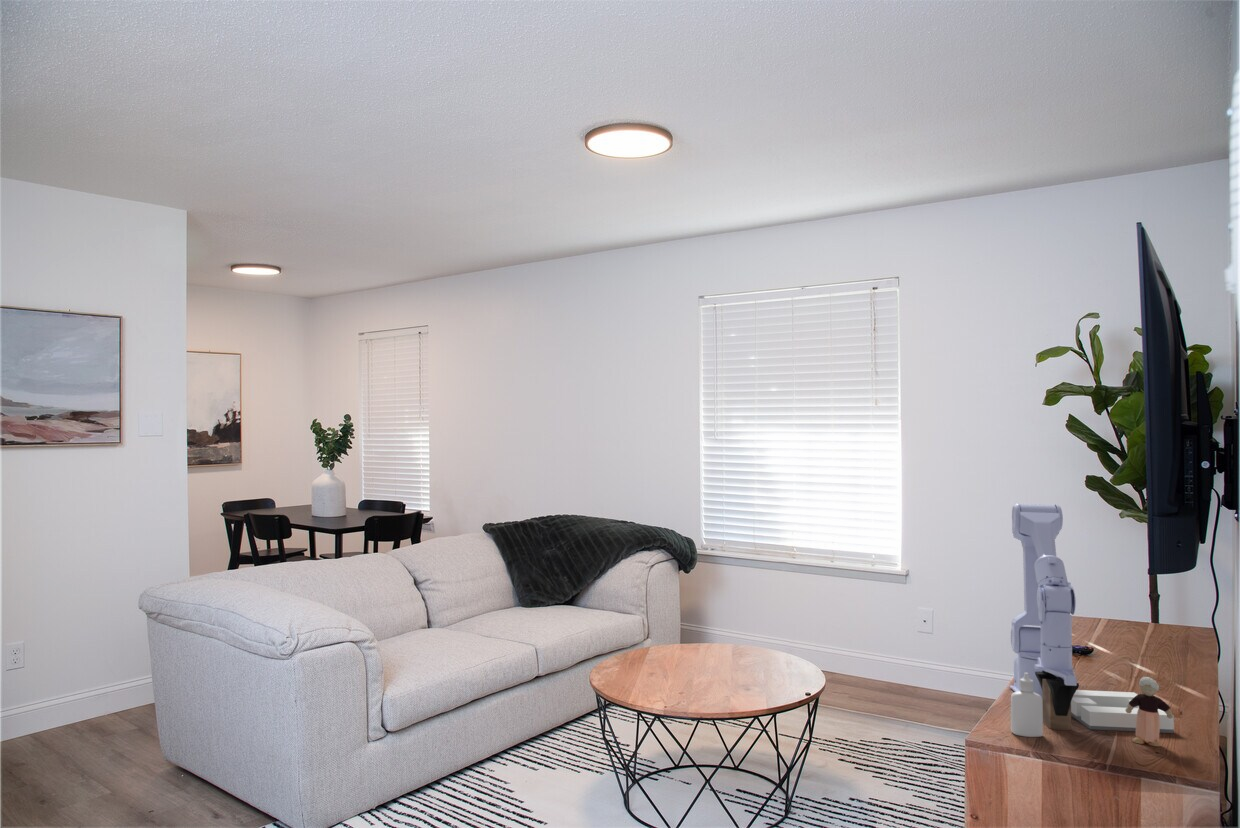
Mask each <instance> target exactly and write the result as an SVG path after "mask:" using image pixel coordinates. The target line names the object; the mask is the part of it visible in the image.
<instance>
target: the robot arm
mask: <svg viewBox="0 0 1240 828" xmlns="http://www.w3.org/2000/svg"><path fill="white" fill-rule="evenodd" d="M1011 509H1012V510H1011V531H1012V536H1013V539H1017V540H1018V541H1020V542H1021V547H1022V558H1023V560H1022V561H1023V563H1022V565H1023V566H1022V567H1023V598H1024V601H1023V604H1024V609H1023V610H1024V611H1023V612H1021V613H1019V614H1018V615H1016V616H1015V617H1013V619H1012V621H1011V630H1010V645H1011V650H1012V651H1013V652H1014V654H1017V655H1016V656H1015V657H1014V661H1013V685H1012V684H1011V685H1009V688H1010V689H1011V690H1012V691H1014V692H1016V691H1020V679H1022V678H1023V677H1024V673H1028V674H1029V678H1030V679H1031V680H1033V692H1035V693H1037V694H1039V695H1040V696H1041V697H1042V679H1046V681H1047V683H1048V685H1049V688H1050V690H1051V694H1052V698H1053V706H1054V711H1055V715H1057V716H1067V715H1068V711H1069V708H1070V704H1071V700H1072V698H1073V695H1074V693H1075V692H1076V690H1079V687H1080V685H1079V682H1078V680H1077V678H1078V677H1077V675H1076V674H1075V672H1074V671H1075V670H1074V667H1073V629H1072V628H1073V616H1074V614H1075V612H1076V607H1077V605H1076V604H1077V602H1076V601H1077V599H1076V593H1075V589H1074V587H1073V585H1072V584H1071V582H1069V581H1068V576H1067V573H1066V568H1065V564H1064V561H1063V560H1062V559H1061V558H1060V557H1057V552H1056V551H1057V549H1056V539H1057V537H1058V535H1059V534H1060V532H1061V531H1062V528H1063V523H1064V522H1063V520H1064V518H1063V510H1062V507H1061V506H1060V505H1059V504H1057V503H1056V504H1037V503H1036V504H1033V503H1030V504H1029V503H1018V502H1016V503H1014V504H1013V506H1012V508H1011ZM1056 679H1057V680H1056Z"/></svg>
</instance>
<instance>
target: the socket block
mask: <svg viewBox="0 0 1240 828" xmlns="http://www.w3.org/2000/svg"><path fill="white" fill-rule="evenodd" d="M1137 695H1138V693H1136V692H1134V691H1133V692H1129V691H1113V690H1112V691H1108V690H1087V689H1086V690H1085V689H1077V690H1076V692H1075V693H1074V695H1073V698H1072V700H1071V717H1073V719H1075V720H1077V721H1078V722H1079V723H1080V724H1082V725H1084V727H1086V728H1088V729H1089V730H1094V731H1095V730H1099V731H1118V732H1119V731H1120V732H1121V731H1123V732H1136V719H1137V712H1138V709H1139V706H1136V707H1134V708H1133V710H1132V712H1131V713H1127V712H1126V708H1127V706H1128V704H1129V702H1130V701H1131V700H1132V699H1133V698H1134V697H1135V696H1137ZM1158 713H1159V722H1160V731H1159V734H1160V733H1164V734H1175V717H1174V716H1175V715H1174V714H1172V715H1173V718H1171V719H1170V718H1168V717H1167V714H1166V713H1165V712H1164V711H1162V710H1160V709H1158Z"/></svg>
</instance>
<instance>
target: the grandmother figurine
mask: <svg viewBox="0 0 1240 828" xmlns="http://www.w3.org/2000/svg"><path fill="white" fill-rule="evenodd" d="M1138 684H1139V688H1140V691H1141V692H1142V693H1139V694H1138V693H1137V696H1135V697H1134V698H1133V699H1132V700H1131V701H1130V702H1129V704H1128V706H1127V708H1126V712H1127V713H1131V712H1132V710H1133V708H1134V707H1136V706H1139V709H1138V712H1137V719H1136V731H1135V736H1136V737H1134V738H1133V739H1132V742H1133V743H1135V744H1140V745H1142V744H1145V743H1146V742H1148V743H1147V744H1148V745H1150V746H1153V747H1161V744H1160V742H1159V740H1160V733H1159V731H1160V722H1159V713H1158V709H1160V710H1162V711H1164V712H1165V713H1166V714H1167V717H1168V718H1170V719H1171V718H1173V715H1174V714H1173V713H1172V710H1171V707H1170V706H1169V704H1167V703H1166V702H1165V701H1164V700H1163V699H1161V698H1159V697H1158V696H1155V695H1156V693H1157V692H1158V691H1159V690H1160V686H1159V684H1158V683H1157V681H1156V680H1155V679H1154V678H1151V677H1150V676H1142V677H1141V678H1140V680H1139V683H1138Z"/></svg>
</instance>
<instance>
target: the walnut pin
mask: <svg viewBox="0 0 1240 828" xmlns="http://www.w3.org/2000/svg"><path fill="white" fill-rule="evenodd" d="M1056 680H1057V679H1056ZM1042 701H1043V724H1044V725H1045V726H1046V727H1047V728H1049V729H1050V730H1060V731H1061V730H1064V731H1072V716H1071V704H1070V708H1069V711H1068V715H1067V716H1057V715H1055V711H1054V706H1053V698H1052V694H1051V690H1050V688H1049V685H1048V683H1047V681H1046V679H1042Z"/></svg>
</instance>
